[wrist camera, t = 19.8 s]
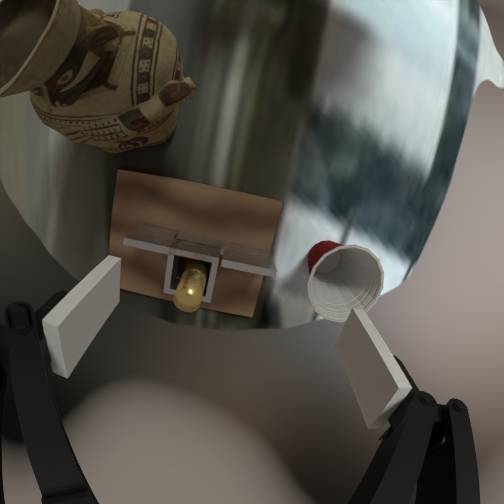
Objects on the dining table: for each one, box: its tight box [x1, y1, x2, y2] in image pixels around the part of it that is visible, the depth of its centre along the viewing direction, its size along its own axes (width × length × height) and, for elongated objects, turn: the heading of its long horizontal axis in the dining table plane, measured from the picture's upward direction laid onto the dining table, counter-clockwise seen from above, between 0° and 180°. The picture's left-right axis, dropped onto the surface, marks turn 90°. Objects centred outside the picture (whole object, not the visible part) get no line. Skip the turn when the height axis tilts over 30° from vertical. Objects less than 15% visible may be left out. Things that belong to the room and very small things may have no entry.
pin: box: [173, 258, 210, 312], centre depth 39 cm, size 3×3×14 cm
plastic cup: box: [307, 241, 384, 322], centre depth 42 cm, size 11×11×12 cm
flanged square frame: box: [123, 224, 221, 303], centre depth 41 cm, size 7×13×8 cm, turn 77°
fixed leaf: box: [175, 232, 277, 284], centre depth 42 cm, size 7×14×8 cm, turn 77°
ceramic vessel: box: [0, 0, 196, 154], centre depth 24 cm, size 19×21×30 cm
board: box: [109, 169, 283, 317], centre depth 45 cm, size 20×26×1 cm
